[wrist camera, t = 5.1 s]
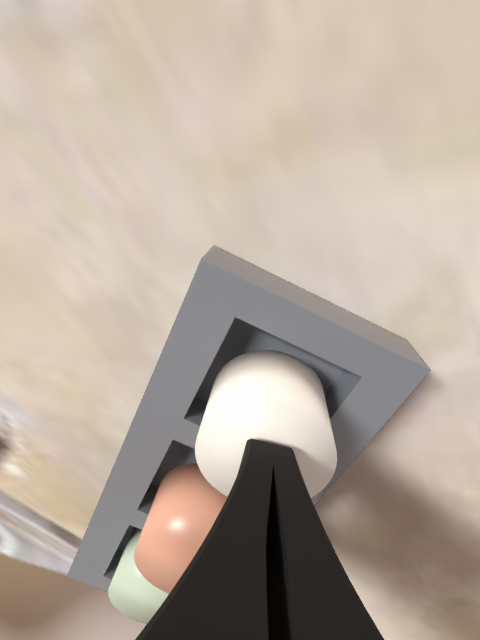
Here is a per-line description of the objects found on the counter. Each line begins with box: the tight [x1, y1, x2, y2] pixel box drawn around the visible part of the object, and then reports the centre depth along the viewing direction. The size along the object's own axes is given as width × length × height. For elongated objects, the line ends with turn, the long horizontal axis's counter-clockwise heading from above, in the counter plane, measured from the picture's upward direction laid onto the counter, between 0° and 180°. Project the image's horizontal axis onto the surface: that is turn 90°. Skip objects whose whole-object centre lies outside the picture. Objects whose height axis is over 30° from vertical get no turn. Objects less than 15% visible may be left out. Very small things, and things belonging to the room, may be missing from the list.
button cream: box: [195, 350, 337, 498], centre depth 12 cm, size 4×4×3 cm
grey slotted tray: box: [67, 245, 431, 592], centre depth 17 cm, size 9×21×2 cm, turn 155°
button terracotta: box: [134, 463, 227, 594], centre depth 14 cm, size 4×4×3 cm
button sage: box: [108, 527, 169, 624], centre depth 18 cm, size 4×4×3 cm
